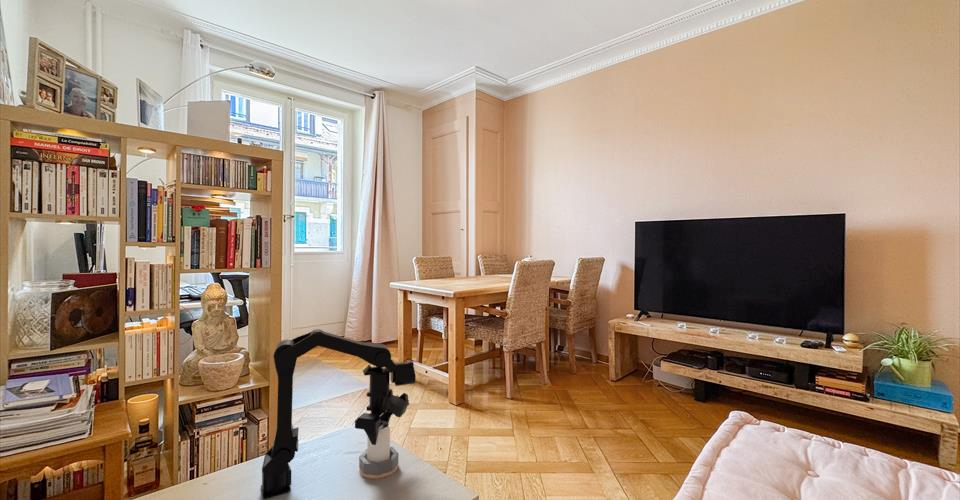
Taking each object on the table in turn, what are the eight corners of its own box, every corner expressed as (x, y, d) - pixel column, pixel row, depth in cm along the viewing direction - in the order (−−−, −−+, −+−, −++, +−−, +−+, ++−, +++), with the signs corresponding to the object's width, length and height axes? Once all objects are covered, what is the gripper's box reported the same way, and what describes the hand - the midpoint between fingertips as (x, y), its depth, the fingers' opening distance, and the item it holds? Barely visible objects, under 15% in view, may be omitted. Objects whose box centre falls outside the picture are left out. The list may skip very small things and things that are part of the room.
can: (392, 460, 122) (392, 420, 122) (385, 471, 115) (386, 430, 115) (371, 458, 122) (371, 419, 122) (363, 470, 116) (364, 429, 116)
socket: (366, 483, 111) (366, 469, 111) (354, 465, 121) (354, 451, 121) (404, 471, 117) (404, 457, 117) (390, 454, 127) (390, 442, 127)
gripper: (391, 402, 108) (391, 459, 108) (416, 379, 126) (415, 428, 126) (354, 398, 110) (353, 454, 110) (383, 376, 129) (382, 425, 129)
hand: (378, 440), depth 119 cm, fingers open, 6 cm apart
